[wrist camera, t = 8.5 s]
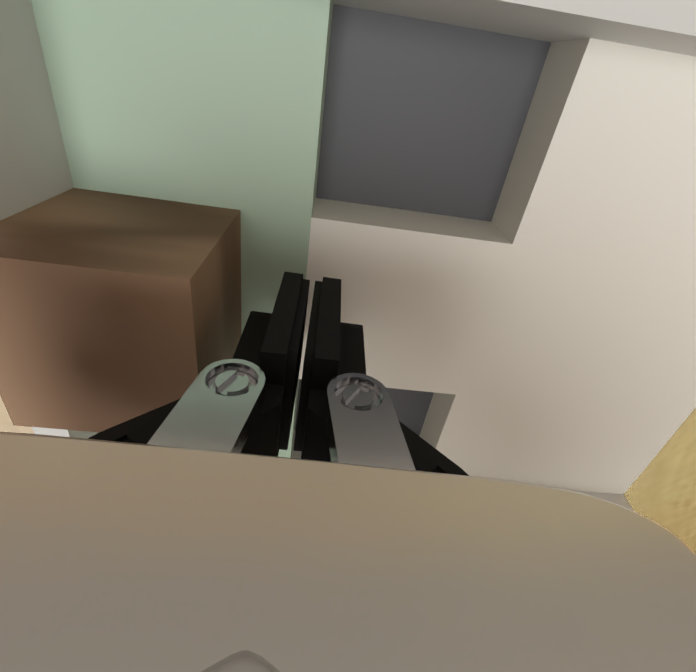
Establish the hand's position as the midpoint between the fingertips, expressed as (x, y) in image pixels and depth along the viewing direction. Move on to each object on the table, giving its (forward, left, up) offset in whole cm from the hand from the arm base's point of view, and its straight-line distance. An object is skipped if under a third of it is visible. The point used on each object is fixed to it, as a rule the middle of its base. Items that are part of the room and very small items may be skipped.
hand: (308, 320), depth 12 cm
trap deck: (-4, 0, -4) cm, 5 cm away
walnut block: (+5, 0, -1) cm, 5 cm away
